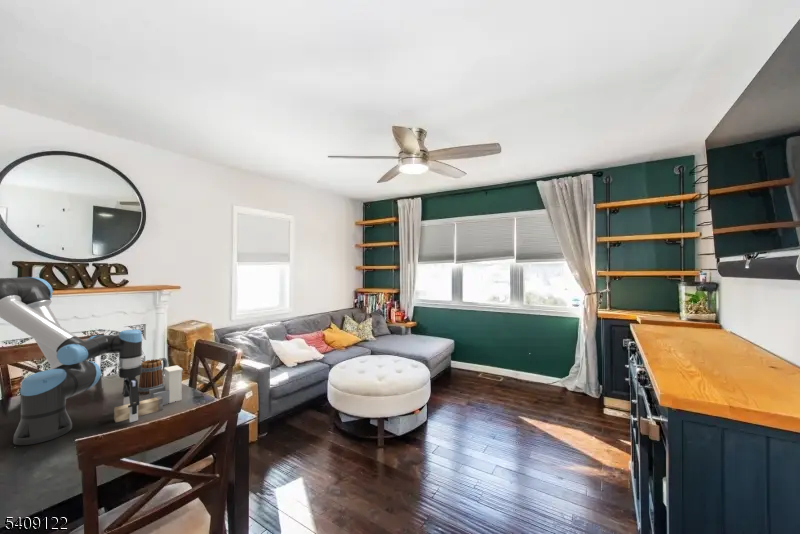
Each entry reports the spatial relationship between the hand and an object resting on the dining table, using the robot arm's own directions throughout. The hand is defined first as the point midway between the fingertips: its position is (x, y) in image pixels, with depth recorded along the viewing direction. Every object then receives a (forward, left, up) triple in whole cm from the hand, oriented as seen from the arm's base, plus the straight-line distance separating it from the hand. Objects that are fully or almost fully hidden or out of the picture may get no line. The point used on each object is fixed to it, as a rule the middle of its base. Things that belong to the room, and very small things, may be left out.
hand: (130, 416), depth 140 cm
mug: (+15, +31, 0) cm, 34 cm away
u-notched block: (+15, +8, 0) cm, 17 cm away
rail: (+3, 0, 0) cm, 3 cm away
